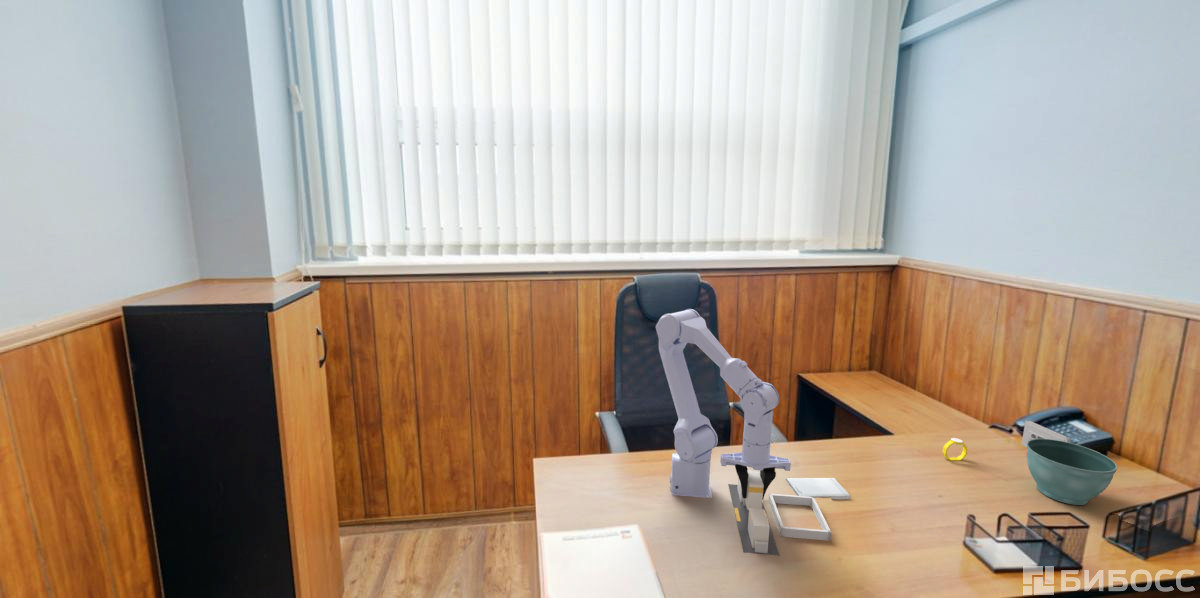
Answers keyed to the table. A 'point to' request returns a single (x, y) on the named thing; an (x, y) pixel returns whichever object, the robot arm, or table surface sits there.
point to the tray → (799, 532)
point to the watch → (959, 442)
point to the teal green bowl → (1068, 470)
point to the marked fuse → (754, 490)
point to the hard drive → (818, 487)
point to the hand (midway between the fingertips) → (752, 496)
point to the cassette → (1040, 433)
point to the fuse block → (742, 524)
